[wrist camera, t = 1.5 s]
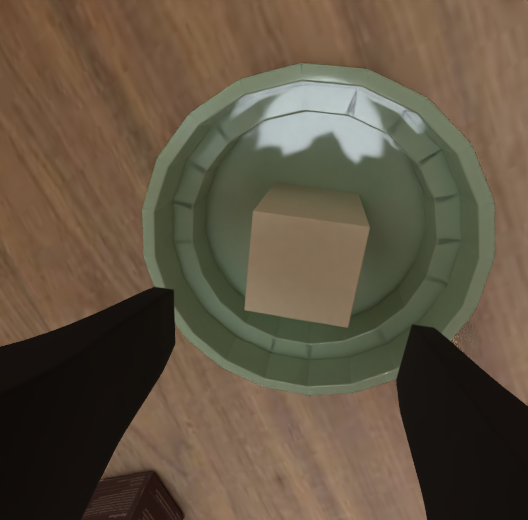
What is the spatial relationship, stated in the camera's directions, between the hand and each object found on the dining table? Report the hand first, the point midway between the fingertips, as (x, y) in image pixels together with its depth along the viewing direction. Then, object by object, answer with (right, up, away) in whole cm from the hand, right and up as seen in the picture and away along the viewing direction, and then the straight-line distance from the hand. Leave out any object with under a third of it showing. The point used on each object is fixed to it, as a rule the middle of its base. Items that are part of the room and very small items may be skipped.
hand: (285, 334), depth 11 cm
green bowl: (+2, +4, +10) cm, 11 cm away
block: (+2, +4, +9) cm, 10 cm away
